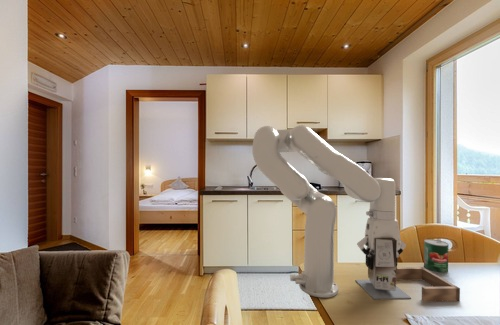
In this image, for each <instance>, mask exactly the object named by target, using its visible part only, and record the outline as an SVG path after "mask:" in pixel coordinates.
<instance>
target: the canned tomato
mask: <svg viewBox="0 0 500 325" xmlns="http://www.w3.org/2000/svg"><path fill="white" fill-rule="evenodd" d="M423 241H424V242H423V247H424V249H423V268H425V269H427V270H429V271H430V272H432V273H434V274H439V275H447V274H448V273H449V244H450V243H448V242H446V241H442V240H440V239H439V240H438V239H430V238H429V239H428V238H425V239H424V240H423Z"/></svg>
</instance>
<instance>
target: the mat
mask: <svg viewBox="0 0 500 325" xmlns="http://www.w3.org/2000/svg"><path fill="white" fill-rule="evenodd" d="M354 281H355V282H356V283H357V284H358V285H359V286H360V287H361V288H362V290H364V291H365V292H366V293H367V294H368V295H369V297H371V299H373V300H411V299H412V296H410V295H409V294H407V292H404V291H403V290H402V289H401V288H400V287H399V286H397V285H396V290H395V291H391V290H383V289H375V288H374V286H373V284H372V283H371V281H370V279H355V280H354Z"/></svg>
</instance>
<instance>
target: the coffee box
mask: <svg viewBox="0 0 500 325" xmlns="http://www.w3.org/2000/svg"><path fill="white" fill-rule="evenodd" d="M396 250H397V240H396V239H394V238H375V251H374V250H373V255H372V257H373V270H371V269H369V268H368V267H367V278H368V280H370V281H371V283H372V284H373V286H374V288H375V289H383V290H391V291H395V290H396V286H397V282H396V281H397V280H396Z"/></svg>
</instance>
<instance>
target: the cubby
mask: <svg viewBox="0 0 500 325" xmlns="http://www.w3.org/2000/svg"><path fill="white" fill-rule="evenodd" d="M415 280H416V281H418V280H419V281H424V282H425V283H427V284H428V285H429V286H421V301H422V302H424V303H426V302H427V303H429V302H430V303H431V302H434V303H436V302H461V301H460V300H461V288H460V287H458V286H457V285H455V284H453V283H451V282H449V281H448V280H446V279H444V278H443V277H441V276H439V275H437V273H434V272H430V271H429V270H427V269H425V268H424V266H420V267H419V266H417V267H412V266H411V267H410V266H409V267H405V266H402V267H398V266H397V270H396V281H415Z"/></svg>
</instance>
